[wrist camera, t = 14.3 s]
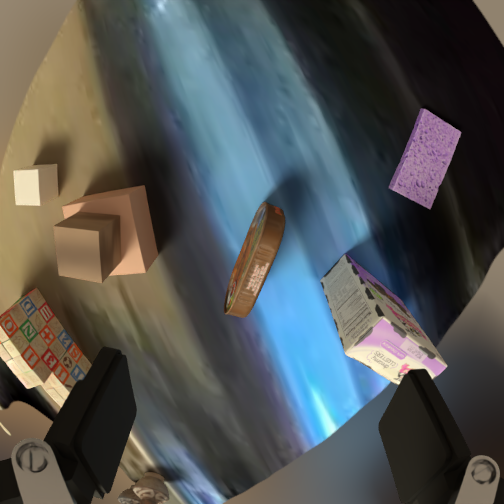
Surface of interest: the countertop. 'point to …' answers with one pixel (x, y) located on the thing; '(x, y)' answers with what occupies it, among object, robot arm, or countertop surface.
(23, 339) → the stack of blocks
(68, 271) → the walnut cube
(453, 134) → the sponges
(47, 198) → the off-white cube
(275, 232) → the tin
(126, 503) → the pottery
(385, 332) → the candy box
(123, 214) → the terracotta block
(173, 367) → the countertop surface
